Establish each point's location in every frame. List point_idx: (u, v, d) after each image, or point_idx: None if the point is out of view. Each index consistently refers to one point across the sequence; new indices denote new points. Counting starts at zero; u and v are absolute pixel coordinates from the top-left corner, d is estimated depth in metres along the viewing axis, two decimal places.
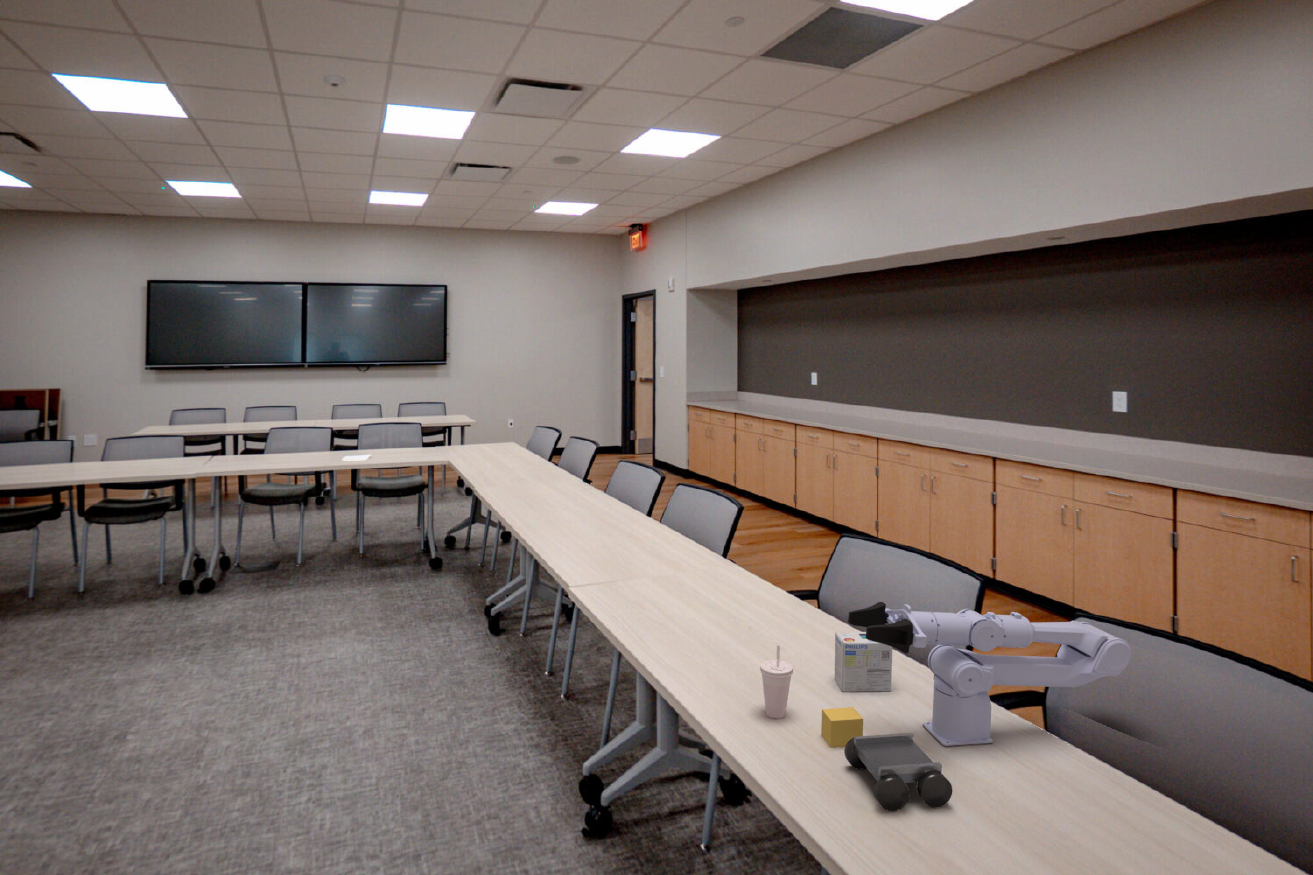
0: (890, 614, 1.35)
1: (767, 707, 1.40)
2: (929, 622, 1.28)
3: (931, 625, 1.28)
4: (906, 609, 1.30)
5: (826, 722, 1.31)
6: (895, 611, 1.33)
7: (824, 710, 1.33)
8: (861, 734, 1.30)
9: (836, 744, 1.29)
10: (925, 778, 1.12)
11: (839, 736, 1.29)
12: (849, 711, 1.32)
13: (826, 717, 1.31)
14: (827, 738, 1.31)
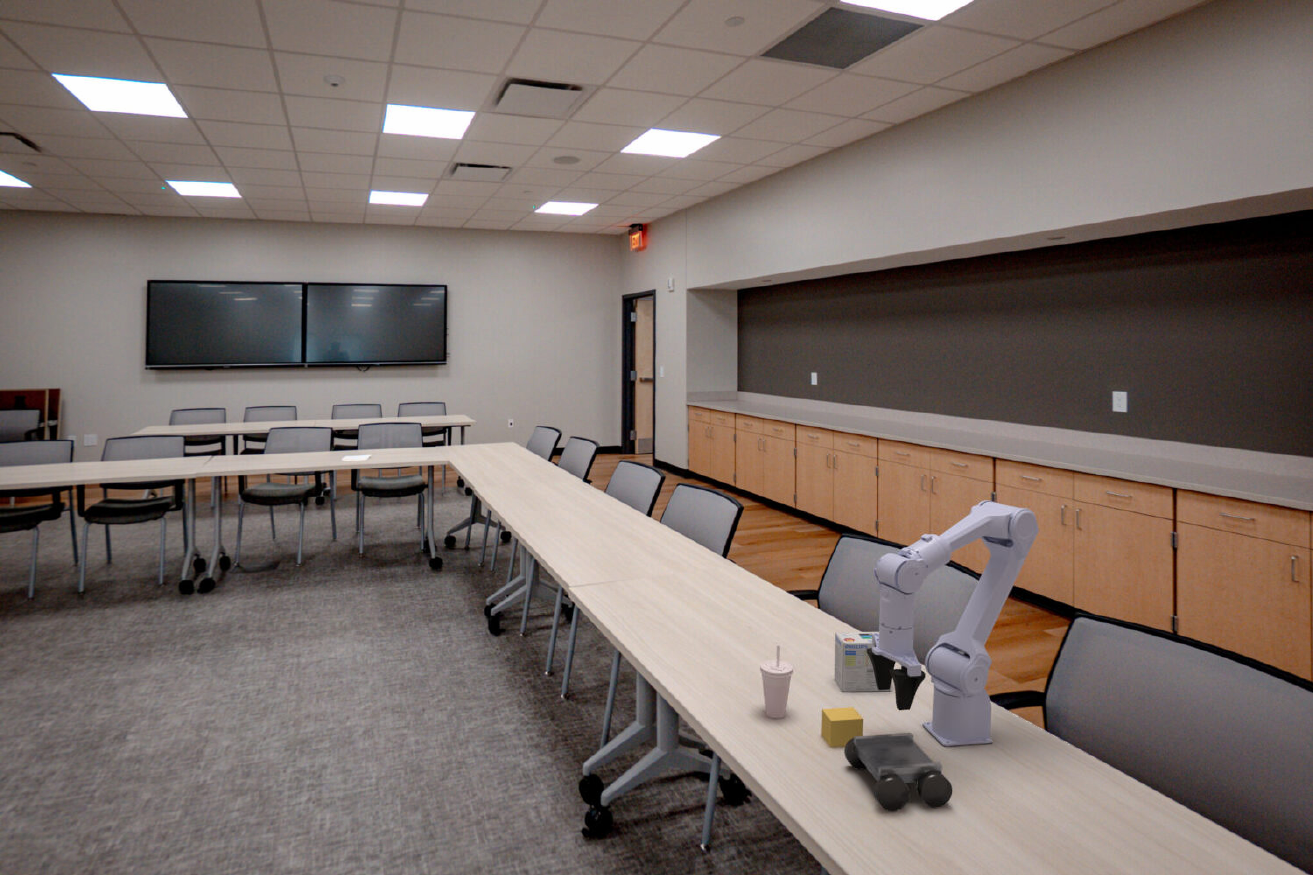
0: None
1: (767, 707, 1.40)
2: (892, 636, 1.24)
3: (895, 635, 1.24)
4: None
5: (826, 722, 1.31)
6: None
7: (824, 710, 1.33)
8: (861, 734, 1.30)
9: (836, 744, 1.29)
10: (925, 778, 1.12)
11: (839, 736, 1.29)
12: (849, 711, 1.32)
13: (826, 717, 1.31)
14: (827, 738, 1.31)
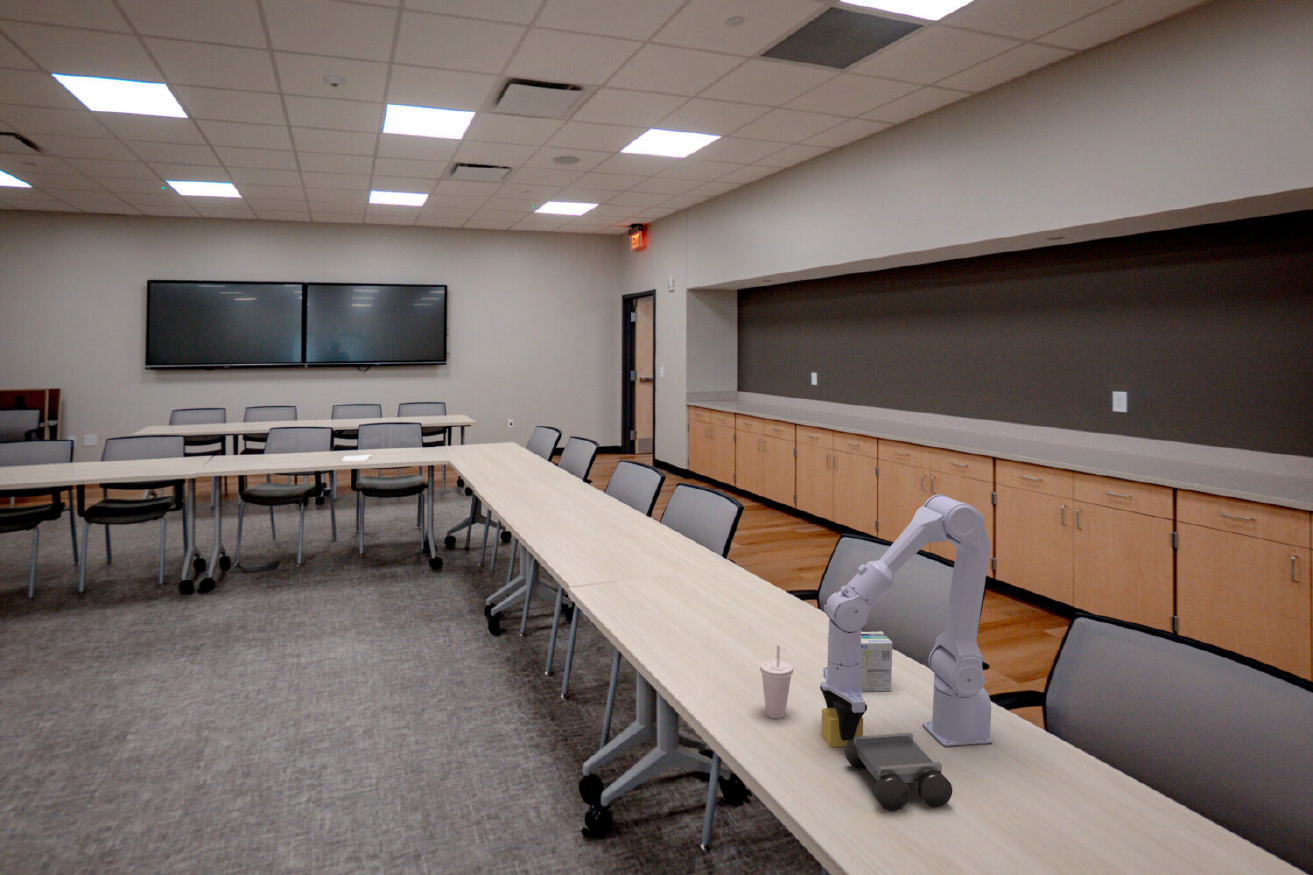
0: None
1: (767, 707, 1.40)
2: (839, 672, 1.28)
3: (842, 671, 1.28)
4: None
5: (826, 721, 1.31)
6: None
7: (824, 709, 1.33)
8: (861, 733, 1.30)
9: (836, 743, 1.29)
10: (925, 778, 1.12)
11: (839, 735, 1.29)
12: None
13: (826, 716, 1.31)
14: (827, 738, 1.31)
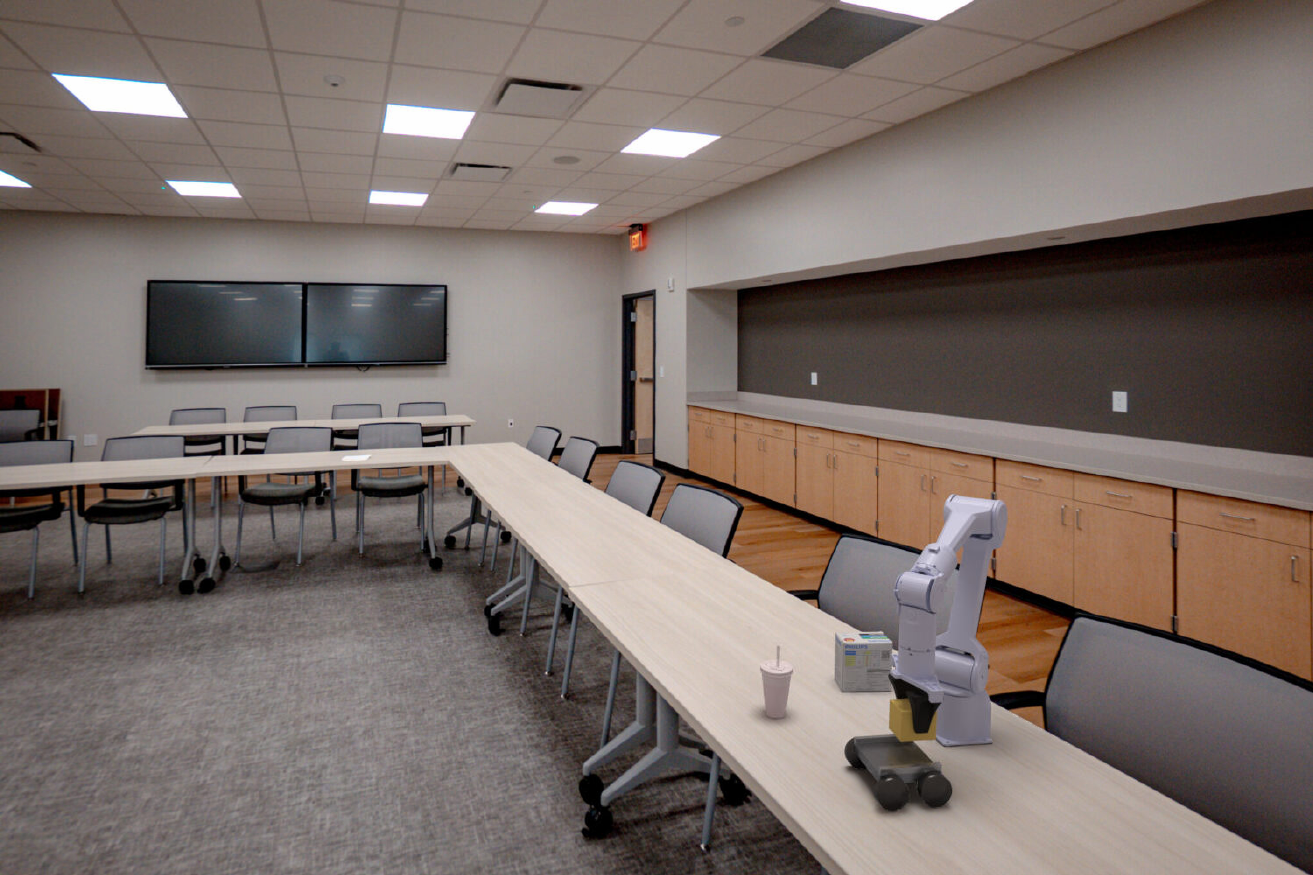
0: None
1: (767, 707, 1.40)
2: (912, 659, 1.17)
3: (916, 658, 1.17)
4: None
5: (896, 713, 1.20)
6: None
7: (892, 701, 1.21)
8: (934, 727, 1.18)
9: (907, 738, 1.18)
10: (925, 778, 1.12)
11: (911, 729, 1.18)
12: None
13: (895, 708, 1.20)
14: (896, 731, 1.19)
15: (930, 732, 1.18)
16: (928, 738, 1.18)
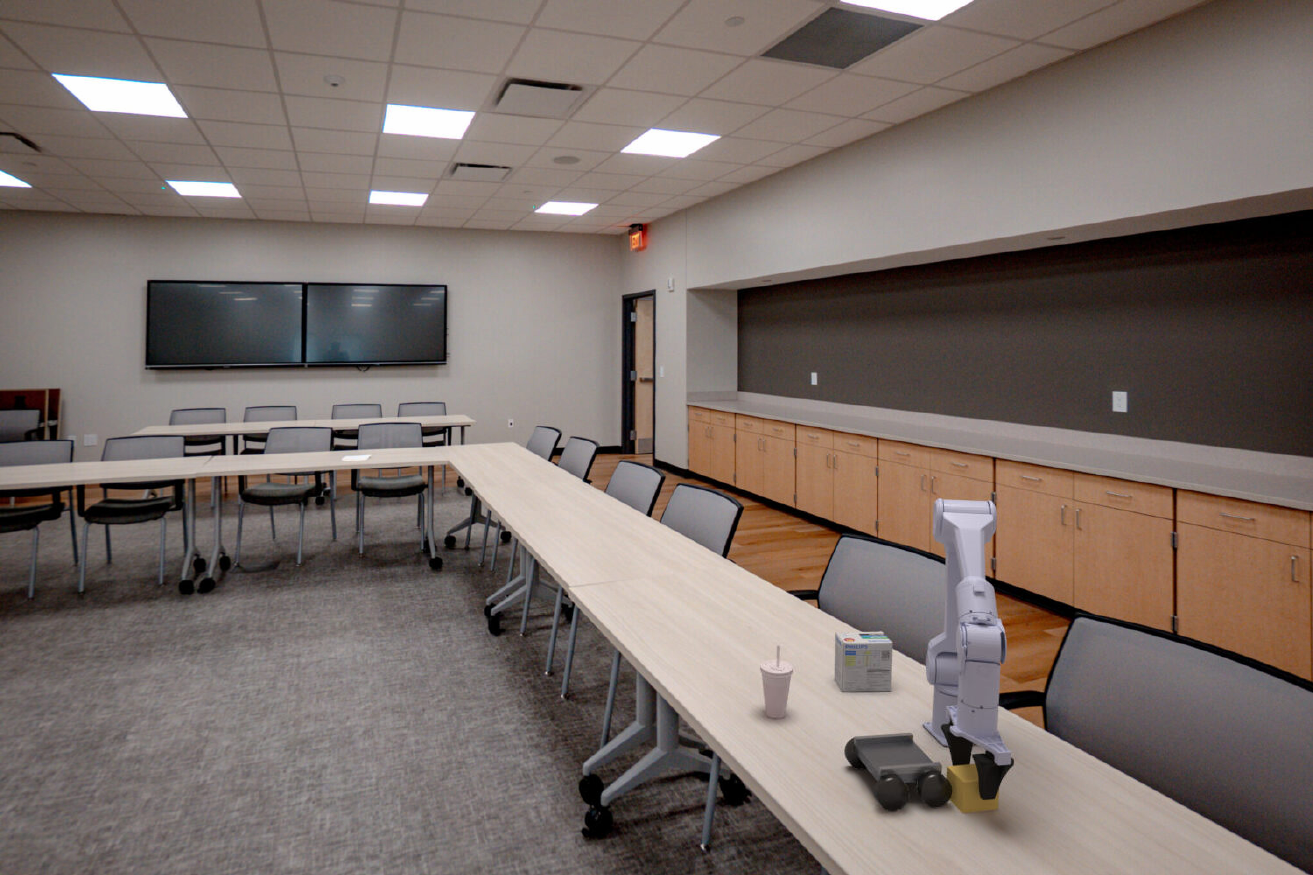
0: None
1: (767, 707, 1.40)
2: (975, 716, 1.09)
3: (978, 715, 1.09)
4: None
5: (955, 782, 1.12)
6: None
7: (950, 768, 1.14)
8: (997, 796, 1.11)
9: (969, 809, 1.11)
10: (925, 778, 1.12)
11: (973, 799, 1.11)
12: None
13: (955, 777, 1.12)
14: (956, 802, 1.12)
15: (992, 802, 1.11)
16: (990, 808, 1.11)
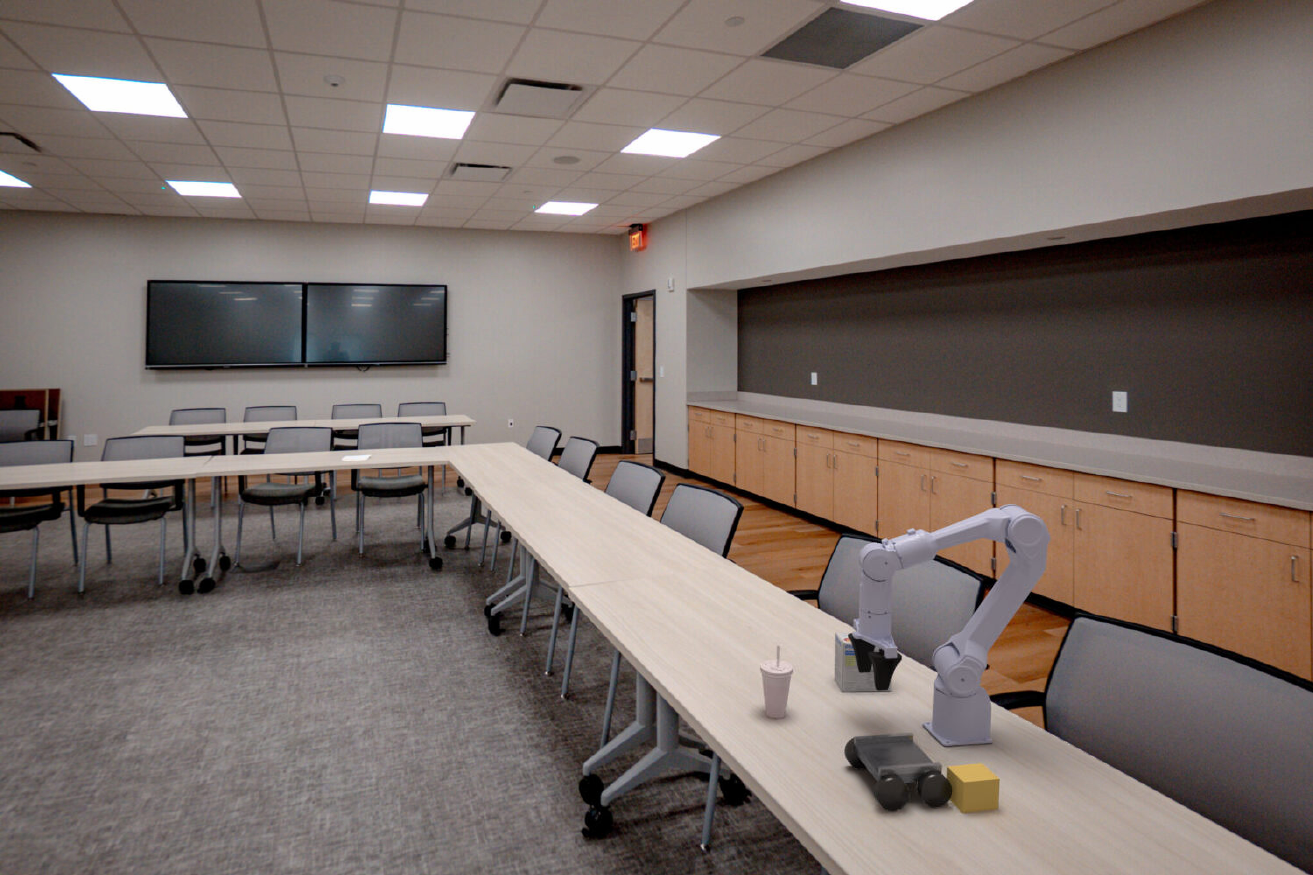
0: None
1: (767, 707, 1.40)
2: (871, 621, 1.31)
3: (874, 620, 1.31)
4: None
5: (955, 782, 1.12)
6: None
7: (950, 768, 1.14)
8: (997, 796, 1.11)
9: (969, 809, 1.11)
10: (925, 778, 1.12)
11: (973, 799, 1.11)
12: (979, 769, 1.13)
13: (955, 777, 1.12)
14: (956, 802, 1.12)
15: (992, 802, 1.11)
16: (990, 808, 1.11)
